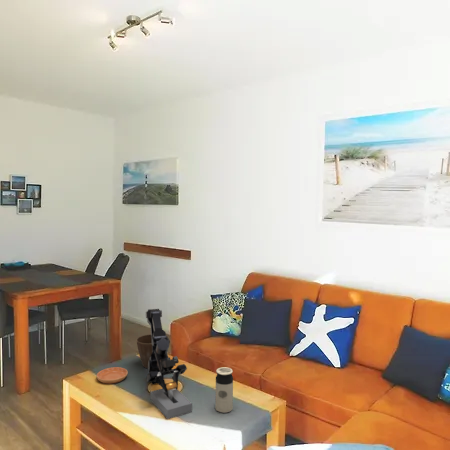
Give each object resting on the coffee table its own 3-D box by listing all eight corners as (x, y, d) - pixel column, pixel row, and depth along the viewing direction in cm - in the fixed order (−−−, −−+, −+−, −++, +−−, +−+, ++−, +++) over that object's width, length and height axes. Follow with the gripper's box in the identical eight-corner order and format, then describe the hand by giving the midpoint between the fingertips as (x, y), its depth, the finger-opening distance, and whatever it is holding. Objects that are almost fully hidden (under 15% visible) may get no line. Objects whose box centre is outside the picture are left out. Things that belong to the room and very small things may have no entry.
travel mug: (220, 402, 188) (220, 365, 187) (235, 406, 185) (236, 368, 184) (212, 410, 181) (212, 372, 180) (228, 414, 178) (228, 375, 177)
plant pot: (151, 373, 219) (151, 345, 218) (130, 367, 226) (130, 340, 225) (168, 364, 232) (168, 337, 231) (148, 358, 239) (148, 332, 238)
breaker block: (150, 399, 191) (150, 391, 190) (173, 393, 197) (173, 385, 197) (167, 419, 174) (167, 409, 173) (191, 411, 180) (191, 402, 180)
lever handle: (164, 402, 185) (164, 382, 185) (173, 399, 188) (173, 380, 187) (167, 405, 183) (167, 385, 182) (176, 402, 185) (176, 382, 185)
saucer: (90, 382, 208) (90, 376, 208) (109, 370, 223) (109, 365, 223) (116, 387, 203) (116, 382, 202) (133, 374, 218) (133, 369, 217)
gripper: (148, 355, 182) (157, 388, 173) (185, 347, 192) (195, 378, 183) (142, 365, 189) (151, 398, 181) (178, 357, 199) (187, 388, 190)
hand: (172, 390), depth 184 cm, fingers closed on lever handle, 5 cm apart
